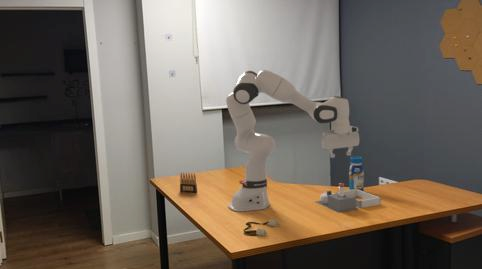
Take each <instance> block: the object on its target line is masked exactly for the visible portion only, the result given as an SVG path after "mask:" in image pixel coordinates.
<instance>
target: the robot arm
mask: <svg viewBox="0 0 482 269" xmlns="http://www.w3.org/2000/svg"><path fill="white" fill-rule="evenodd" d="M261 93H262V94H265V95H267V96H268V97H270V98H272V99H274V100H276V101H278V102H281V103H286V104H291V105H295V106H297V108H299V109H301V110H303V111H304V112H306V113H307V114H308V115H309V117H310V118H311V119H312V120H313V121H314V122H316V123H318V124H324V125H325V124H327V123H330V126H331V127H330V128H331V129H330V130H324V131H323V132H322V134H321V148H322V149H323V150H325V151H326V150H327V151H328V153H329V156H330V158H331V159H334V158H336V154H335V153H334V152H333V151H334V150H335V149H336V150H337V149H342V148H344V149H345V148H347V149H348V150H347V151H346V153H345V154H346V156H348V157H349V156H350V157H351V155H352V152H353V149H354V147H357V146H359V145H360V134H359V127H358V126H353V125H351V124H350V118H349V117H350V105H349V100H348V98H346V97H343V96H339V95H334V96H332V97H331V98H329V99H328V100H326V101H324V102H322V101H315V100H311V99H310V98H308V97H307V96H305V95H303V93H300V92H299V91H298V90H297V89H296V87H295V86H294V85H293V84H292V83H291V82H290V81H289V80H288V79H286V78H284V77H282V76H281V75H279V74H277V73H275V72H272V71H269V70H267V69H263V70H260V71H259V72H258V73H256V72H255V71H252V70H246V71H244V72H243V73H241V74H240V75H239V78H237V81H236V83H235V87H234V88H233V91H232V92H231V93H230V94H229V95H227V97H226V99H225V102H226V106H227V110H228V113H229V115H230V118H231V120H232V122H233V124H234V127H235V130H236V136H235V138H234V146H235V148H236V149H237V150H238V151H240V152H244V153H247V154H250V158H249V161H247V162H246V164H244V177H245V179H244V180H242V179H240V180H239V181H238V184H239V185H242V187H240V188H239V189H238V190H237V191H236V192H234V193H233V194H232V199H231V202H229V203H228V204H227V208H228V209H230V210H232V211H234V212H238V213H239V212H240V213H241V212H250V211H257V210H258V211H259V210H260V211H261V210H266V209H267V207H269V206H270V205H271V204H270V201H269V196H268V190H267V189H268V179H267V171H266V170H267V163H268V159H269V157H270V155H271V154H272V153H273V152H274V151H275V148H276V141H275V139H274V138H273V137H272V136H271V135H268V134H266V133H259V132H258V133H257V132H256V131H255V130H254V127H255V125H256V124H257V123H256V122H257V120H256V117H255V115H254V112H253V110H252V108H251V106H250V103H251V102H253V100H255V98H257V97H258V96H259V94H261Z"/></svg>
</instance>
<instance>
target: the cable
mask: <svg viewBox="0 0 482 269" xmlns="http://www.w3.org/2000/svg"><path fill="white" fill-rule="evenodd" d="M252 224H255V225H261V223H259V222H255V221H247V222H246V223H245V225H247V227H245V228H244V229H243V230H242V231H243V232H244V233H245V234H253V233H255V234H256V235H257V236H260V237H264V236H267V235H268V232H267V230H266V229H265V228H260V227H259V228H257V229H256V230H250V231H247V230H248V229H249V228H251V227H252ZM262 225H264V226H265V225H268V226H269V227H272V228H273V227H274V228H276V227H278V226H279V225H280V224H279V222H278V220H276V219H272V218H271V219H269V220H268V221H267V222H262Z"/></svg>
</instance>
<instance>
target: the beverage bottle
mask: <svg viewBox="0 0 482 269" xmlns="http://www.w3.org/2000/svg"><path fill="white" fill-rule="evenodd" d="M363 160H364V159H363V157H362V156H350V166H349V168H348V169H349V171H348V177H349V179H348V182H349V183H348V186H349V188H348V190H353V189H358V190H361V191H363V192H365V191H364V185H365V183H364V180H365V173H364V170H365V169H364V165H363Z"/></svg>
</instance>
